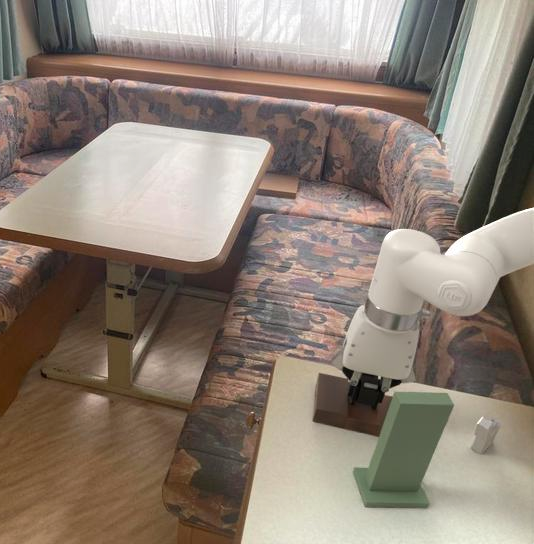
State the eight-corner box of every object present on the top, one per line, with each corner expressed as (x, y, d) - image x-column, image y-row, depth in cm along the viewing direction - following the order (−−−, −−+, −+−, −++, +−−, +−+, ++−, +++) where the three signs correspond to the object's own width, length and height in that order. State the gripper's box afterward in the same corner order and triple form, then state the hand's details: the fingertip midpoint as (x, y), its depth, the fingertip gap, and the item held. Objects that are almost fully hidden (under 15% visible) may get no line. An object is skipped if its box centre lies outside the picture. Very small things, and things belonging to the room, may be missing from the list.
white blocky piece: (482, 435, 93) (499, 399, 89) (492, 442, 92) (510, 405, 88) (461, 457, 89) (478, 420, 85) (472, 464, 88) (490, 427, 84)
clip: (373, 386, 96) (379, 368, 94) (374, 407, 92) (380, 388, 89) (356, 382, 96) (361, 364, 94) (356, 403, 92) (362, 384, 90)
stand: (427, 507, 81) (469, 416, 71) (364, 506, 81) (398, 414, 71) (411, 472, 86) (448, 382, 77) (352, 471, 86) (382, 381, 76)
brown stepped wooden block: (404, 404, 98) (409, 391, 97) (408, 443, 91) (413, 430, 89) (315, 385, 101) (318, 372, 100) (312, 421, 94) (316, 408, 92)
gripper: (445, 307, 87) (412, 397, 96) (335, 287, 90) (314, 376, 99) (452, 336, 80) (416, 429, 90) (334, 314, 84) (311, 405, 93)
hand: (362, 400), depth 95 cm, fingers closed on clip, 2 cm apart
